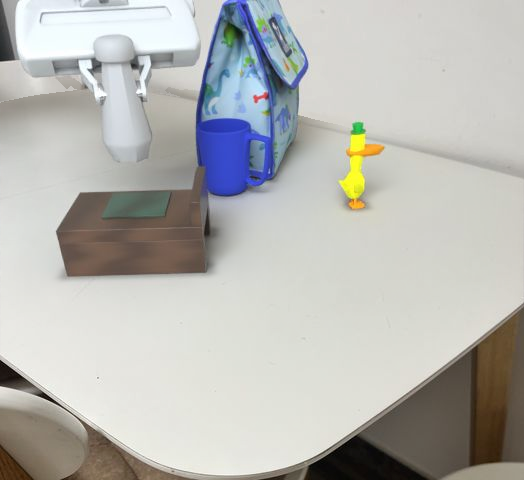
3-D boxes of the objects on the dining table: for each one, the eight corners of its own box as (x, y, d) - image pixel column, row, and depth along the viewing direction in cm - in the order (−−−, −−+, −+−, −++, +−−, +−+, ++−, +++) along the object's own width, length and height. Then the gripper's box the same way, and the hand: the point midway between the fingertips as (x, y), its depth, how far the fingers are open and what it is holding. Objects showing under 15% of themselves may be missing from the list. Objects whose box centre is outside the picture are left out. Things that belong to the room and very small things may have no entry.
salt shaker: (122, 169, 65) (101, 42, 58) (97, 157, 69) (73, 36, 61) (164, 157, 68) (149, 35, 61) (138, 146, 72) (121, 29, 64)
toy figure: (373, 198, 87) (381, 116, 80) (383, 207, 84) (392, 123, 77) (331, 204, 86) (336, 121, 78) (341, 213, 83) (346, 128, 76)
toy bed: (67, 276, 70) (49, 206, 64) (89, 233, 79) (74, 169, 74) (206, 272, 70) (199, 202, 64) (211, 230, 79) (205, 166, 74)
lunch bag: (290, 182, 93) (292, -4, 78) (193, 177, 96) (176, -4, 80) (309, 141, 110) (313, -18, 95) (226, 138, 113) (217, -17, 98)
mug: (257, 207, 85) (256, 139, 79) (191, 194, 90) (185, 129, 84) (283, 189, 91) (283, 124, 85) (219, 177, 96) (215, 115, 90)
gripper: (188, 7, 71) (209, 109, 69) (16, 16, 67) (34, 124, 65) (191, -35, 65) (214, 76, 63) (2, -27, 61) (21, 91, 59)
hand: (121, 101), depth 64 cm, fingers closed on salt shaker, 3 cm apart
